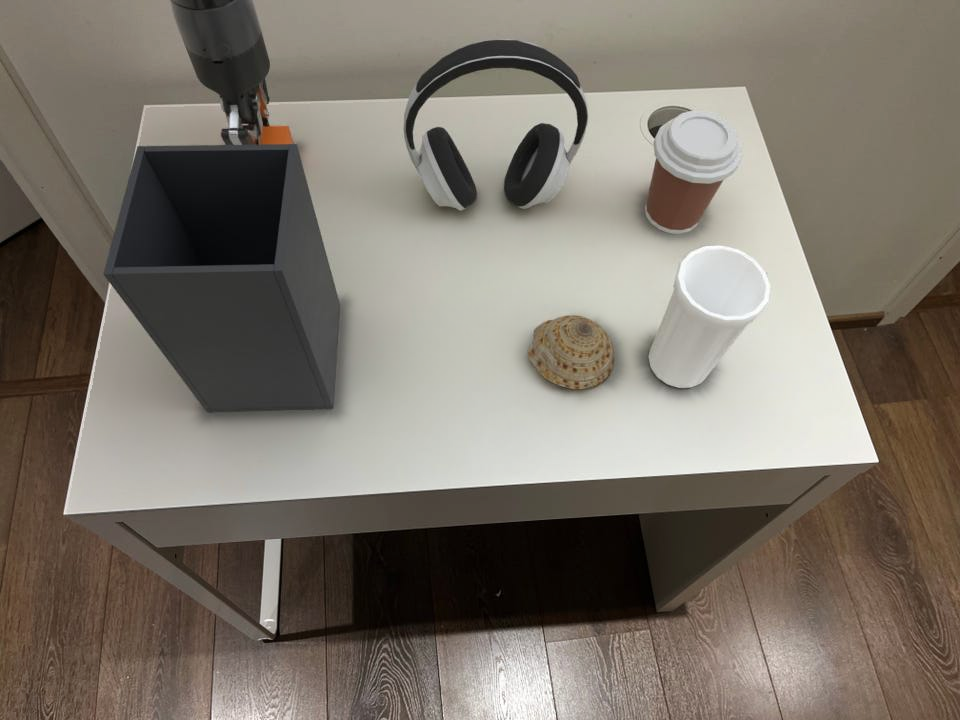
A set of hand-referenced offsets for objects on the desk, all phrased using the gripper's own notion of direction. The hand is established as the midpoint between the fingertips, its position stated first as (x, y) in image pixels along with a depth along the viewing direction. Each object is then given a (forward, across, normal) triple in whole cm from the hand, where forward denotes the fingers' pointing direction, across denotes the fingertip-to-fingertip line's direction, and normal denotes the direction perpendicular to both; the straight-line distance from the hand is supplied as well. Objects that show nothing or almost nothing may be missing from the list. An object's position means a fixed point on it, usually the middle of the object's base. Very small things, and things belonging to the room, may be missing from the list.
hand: (263, 158), depth 83 cm
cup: (+1, +29, +45) cm, 54 cm away
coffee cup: (+1, +9, +48) cm, 49 cm away
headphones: (+1, +6, +27) cm, 28 cm away
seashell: (+1, +28, +34) cm, 44 cm away
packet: (0, 0, 0) cm, 0 cm away
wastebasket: (0, +27, +4) cm, 27 cm away
